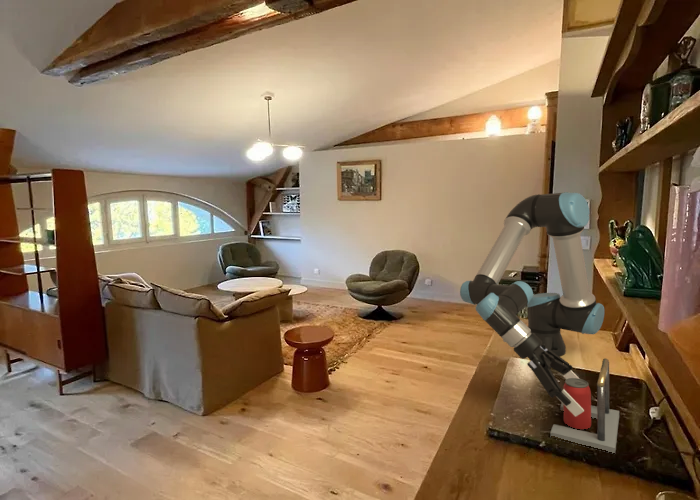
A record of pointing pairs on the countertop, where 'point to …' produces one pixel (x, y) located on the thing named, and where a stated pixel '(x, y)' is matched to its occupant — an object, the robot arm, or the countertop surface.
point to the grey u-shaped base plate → (588, 437)
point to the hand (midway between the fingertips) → (583, 402)
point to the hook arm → (602, 399)
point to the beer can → (583, 397)
